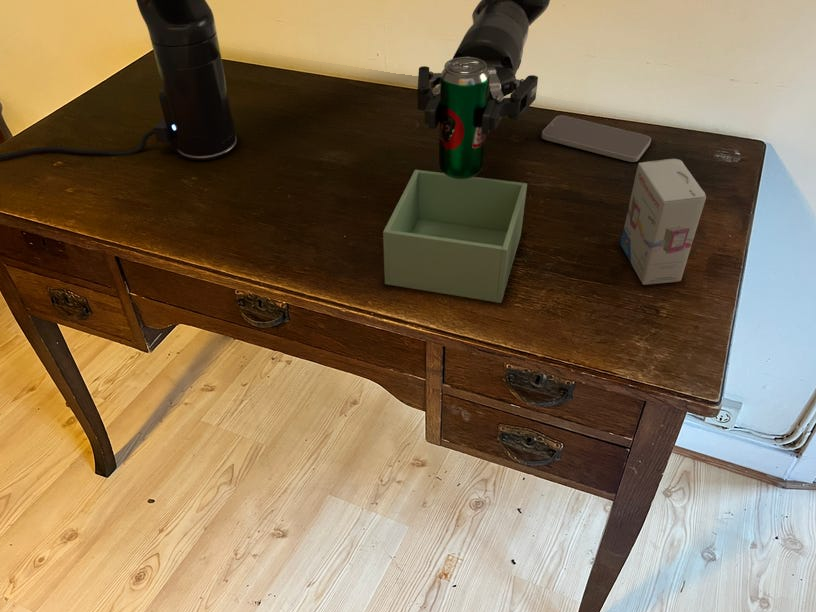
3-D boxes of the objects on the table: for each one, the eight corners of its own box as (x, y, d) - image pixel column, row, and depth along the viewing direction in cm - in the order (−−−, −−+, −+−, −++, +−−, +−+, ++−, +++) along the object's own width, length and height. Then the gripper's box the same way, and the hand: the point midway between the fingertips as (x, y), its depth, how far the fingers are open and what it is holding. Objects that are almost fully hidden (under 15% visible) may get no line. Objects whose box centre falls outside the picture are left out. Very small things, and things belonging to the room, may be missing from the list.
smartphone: (636, 159, 105) (539, 133, 111) (635, 164, 106) (538, 139, 112) (653, 137, 110) (558, 114, 116) (651, 142, 110) (558, 119, 116)
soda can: (481, 182, 81) (488, 76, 73) (436, 180, 82) (437, 75, 74) (485, 159, 85) (492, 55, 76) (441, 157, 86) (443, 54, 77)
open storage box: (384, 284, 89) (382, 231, 83) (414, 220, 98) (414, 169, 93) (501, 303, 85) (507, 249, 80) (520, 234, 95) (527, 183, 90)
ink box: (616, 244, 93) (637, 159, 84) (655, 240, 93) (679, 155, 84) (640, 286, 86) (665, 199, 78) (682, 282, 87) (711, 195, 78)
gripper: (430, 20, 87) (391, 82, 76) (553, 28, 84) (531, 95, 72) (430, 82, 92) (393, 148, 81) (545, 92, 89) (523, 163, 77)
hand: (458, 123), depth 77 cm, fingers closed on soda can, 5 cm apart
